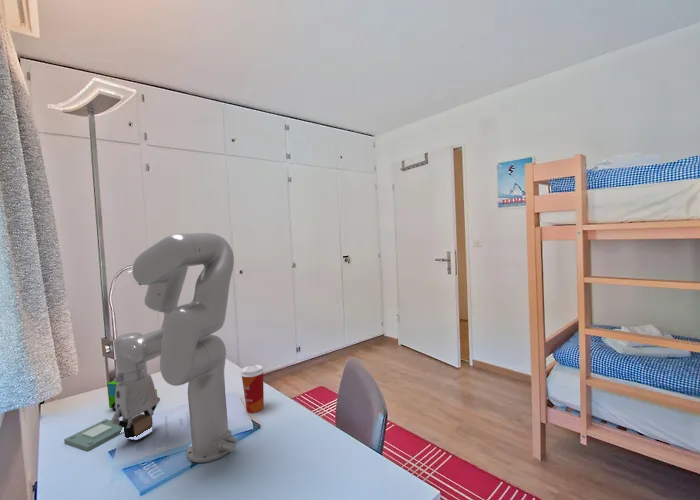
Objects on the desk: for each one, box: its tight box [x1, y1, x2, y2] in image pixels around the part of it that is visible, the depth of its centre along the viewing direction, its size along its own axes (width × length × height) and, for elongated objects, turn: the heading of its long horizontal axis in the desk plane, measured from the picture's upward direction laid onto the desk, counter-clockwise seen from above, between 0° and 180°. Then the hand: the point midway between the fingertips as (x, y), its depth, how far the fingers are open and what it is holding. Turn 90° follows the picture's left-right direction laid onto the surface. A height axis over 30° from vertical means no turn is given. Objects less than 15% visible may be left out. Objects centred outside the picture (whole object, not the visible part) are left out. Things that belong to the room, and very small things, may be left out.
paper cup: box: [240, 364, 265, 414], centre depth 118 cm, size 8×8×14 cm
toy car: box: [106, 380, 158, 412], centre depth 126 cm, size 10×13×10 cm
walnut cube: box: [131, 413, 153, 437], centre depth 105 cm, size 5×5×5 cm
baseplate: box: [63, 418, 123, 452], centre depth 107 cm, size 12×12×2 cm
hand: (139, 433), depth 105 cm, fingers closed on walnut cube, 5 cm apart
